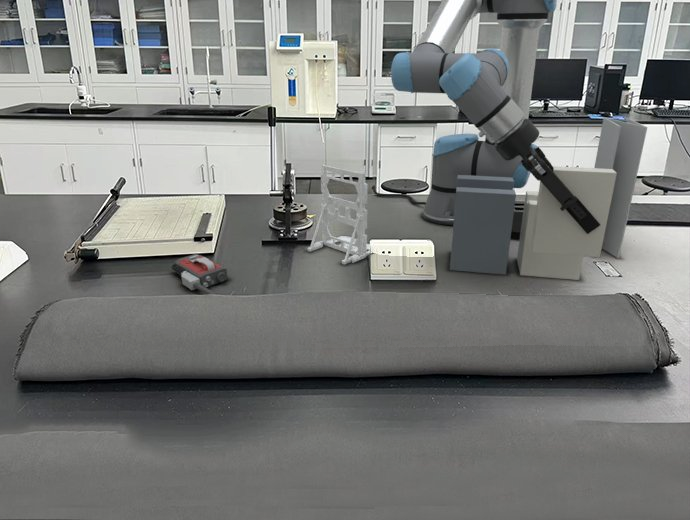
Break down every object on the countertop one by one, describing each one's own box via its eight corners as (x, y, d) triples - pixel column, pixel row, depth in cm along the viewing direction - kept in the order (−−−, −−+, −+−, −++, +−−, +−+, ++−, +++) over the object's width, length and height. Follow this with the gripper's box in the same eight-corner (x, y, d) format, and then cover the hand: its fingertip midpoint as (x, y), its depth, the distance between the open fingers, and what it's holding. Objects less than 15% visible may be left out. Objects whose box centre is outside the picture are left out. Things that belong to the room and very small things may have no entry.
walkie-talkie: (163, 274, 115) (212, 305, 102) (160, 256, 114) (210, 284, 100) (199, 263, 121) (250, 291, 108) (196, 245, 119) (248, 271, 106)
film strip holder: (386, 249, 129) (389, 168, 121) (347, 266, 120) (347, 179, 112) (343, 235, 138) (343, 159, 130) (304, 249, 129) (301, 168, 121)
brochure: (619, 258, 124) (647, 127, 112) (593, 256, 125) (619, 126, 113) (604, 237, 137) (628, 118, 125) (581, 236, 138) (603, 117, 126)
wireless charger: (472, 222, 148) (473, 215, 147) (524, 215, 154) (525, 208, 153) (513, 244, 132) (514, 236, 132) (569, 235, 138) (570, 227, 138)
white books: (579, 280, 113) (592, 205, 106) (520, 275, 115) (530, 202, 109) (571, 263, 121) (584, 194, 114) (516, 259, 123) (526, 190, 117)
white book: (599, 257, 98) (616, 172, 92) (532, 252, 101) (544, 169, 95) (596, 251, 101) (612, 168, 95) (530, 247, 103) (542, 165, 97)
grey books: (505, 274, 115) (516, 189, 108) (449, 270, 118) (456, 186, 110) (503, 256, 125) (512, 177, 117) (451, 252, 127) (457, 174, 120)
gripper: (490, 138, 104) (566, 224, 107) (494, 154, 89) (582, 253, 92) (522, 111, 101) (599, 200, 104) (531, 122, 86) (621, 227, 89)
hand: (591, 225), depth 98 cm, fingers closed on white book, 3 cm apart
